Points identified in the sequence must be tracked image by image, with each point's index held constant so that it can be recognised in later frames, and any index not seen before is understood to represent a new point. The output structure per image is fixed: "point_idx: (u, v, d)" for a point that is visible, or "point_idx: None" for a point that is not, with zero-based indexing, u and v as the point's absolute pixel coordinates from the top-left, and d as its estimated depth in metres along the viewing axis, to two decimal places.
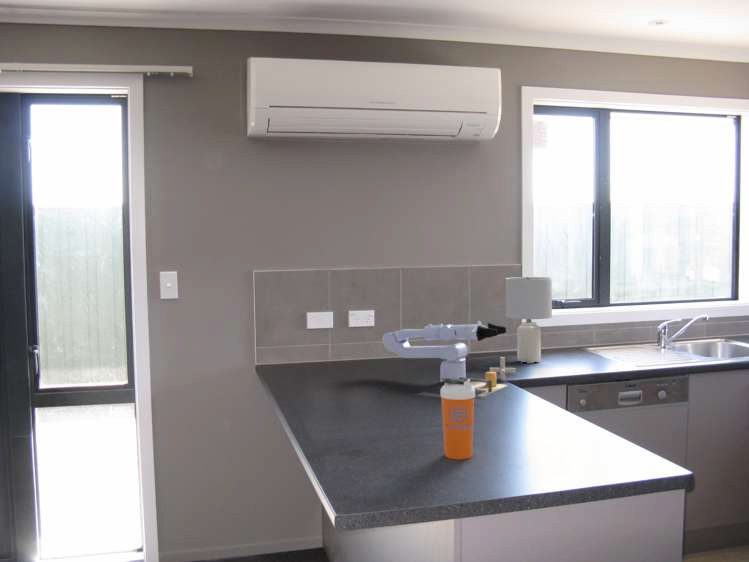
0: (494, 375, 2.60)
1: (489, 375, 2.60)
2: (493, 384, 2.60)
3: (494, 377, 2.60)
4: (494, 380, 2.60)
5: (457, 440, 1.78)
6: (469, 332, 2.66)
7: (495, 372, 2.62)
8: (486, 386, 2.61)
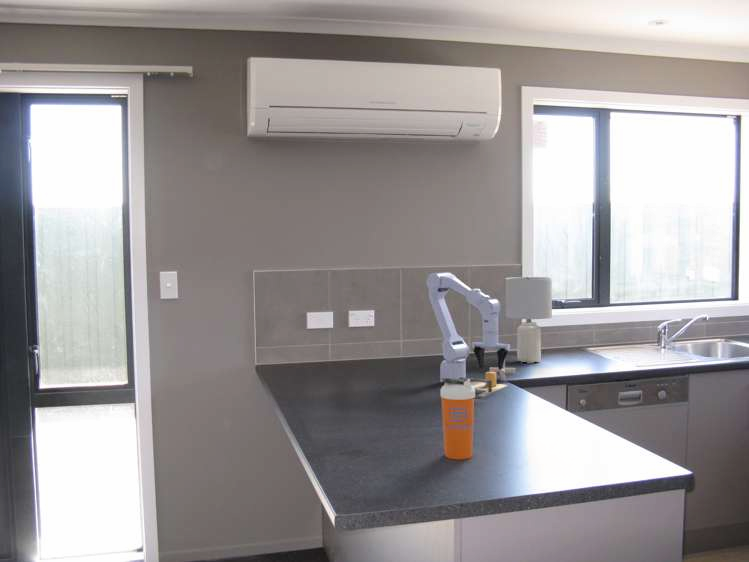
0: (494, 375, 2.60)
1: (489, 375, 2.60)
2: (493, 384, 2.60)
3: (494, 377, 2.60)
4: (494, 380, 2.60)
5: (457, 440, 1.78)
6: None
7: (495, 372, 2.62)
8: (486, 386, 2.61)
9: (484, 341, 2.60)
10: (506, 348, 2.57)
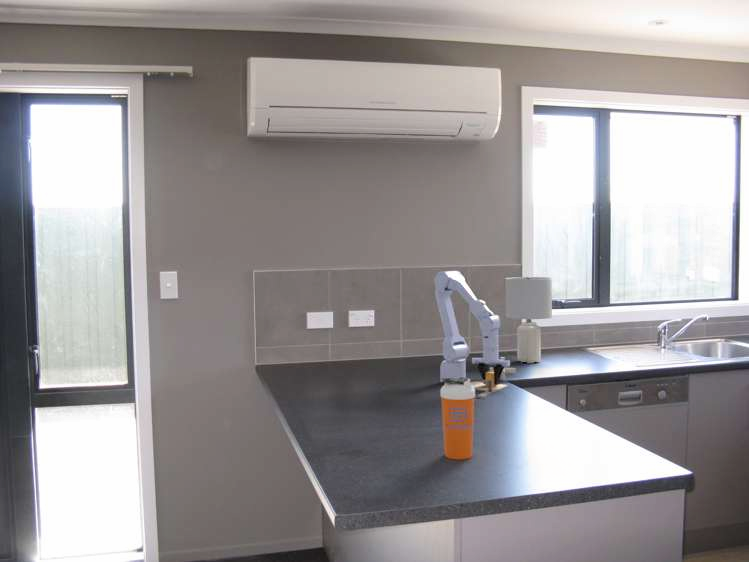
0: None
1: (489, 375, 2.60)
2: (493, 384, 2.60)
3: None
4: None
5: (457, 440, 1.78)
6: None
7: None
8: (486, 386, 2.61)
9: (484, 357, 2.60)
10: (506, 364, 2.57)
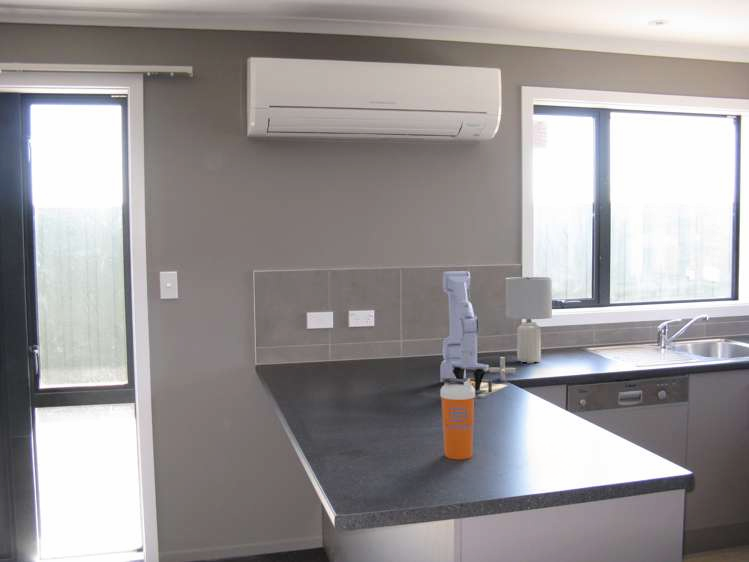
0: (473, 384, 2.50)
1: None
2: None
3: (473, 387, 2.50)
4: None
5: (457, 440, 1.78)
6: None
7: None
8: None
9: (462, 361, 2.50)
10: (485, 369, 2.47)
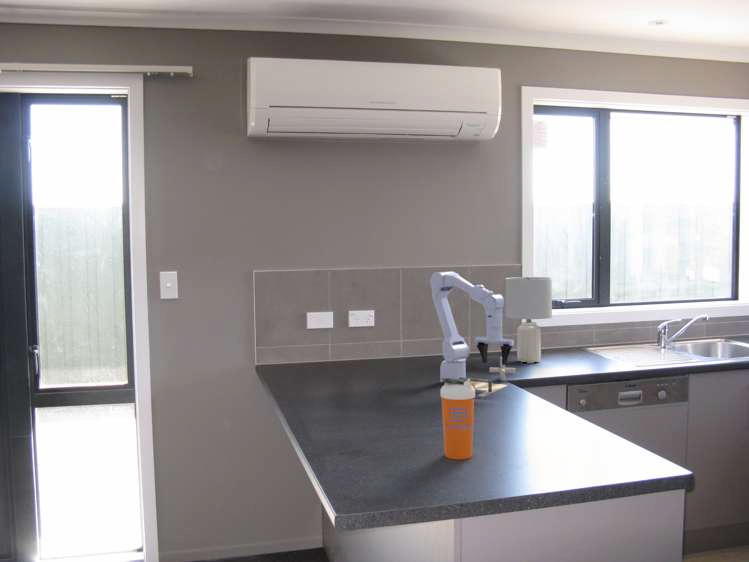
0: (473, 384, 2.50)
1: None
2: None
3: (473, 387, 2.50)
4: None
5: (457, 440, 1.78)
6: None
7: None
8: None
9: (488, 337, 2.58)
10: (510, 344, 2.55)
